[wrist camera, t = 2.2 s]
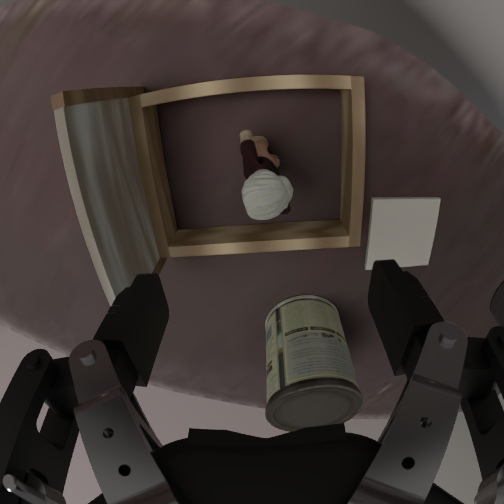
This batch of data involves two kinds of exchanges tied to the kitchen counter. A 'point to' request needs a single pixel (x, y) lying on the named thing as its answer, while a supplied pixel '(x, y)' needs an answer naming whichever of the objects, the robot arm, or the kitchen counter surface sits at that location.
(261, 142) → the grandmother figurine
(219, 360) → the kitchen counter surface
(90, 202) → the cold frame
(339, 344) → the coffee can
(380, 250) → the tile
